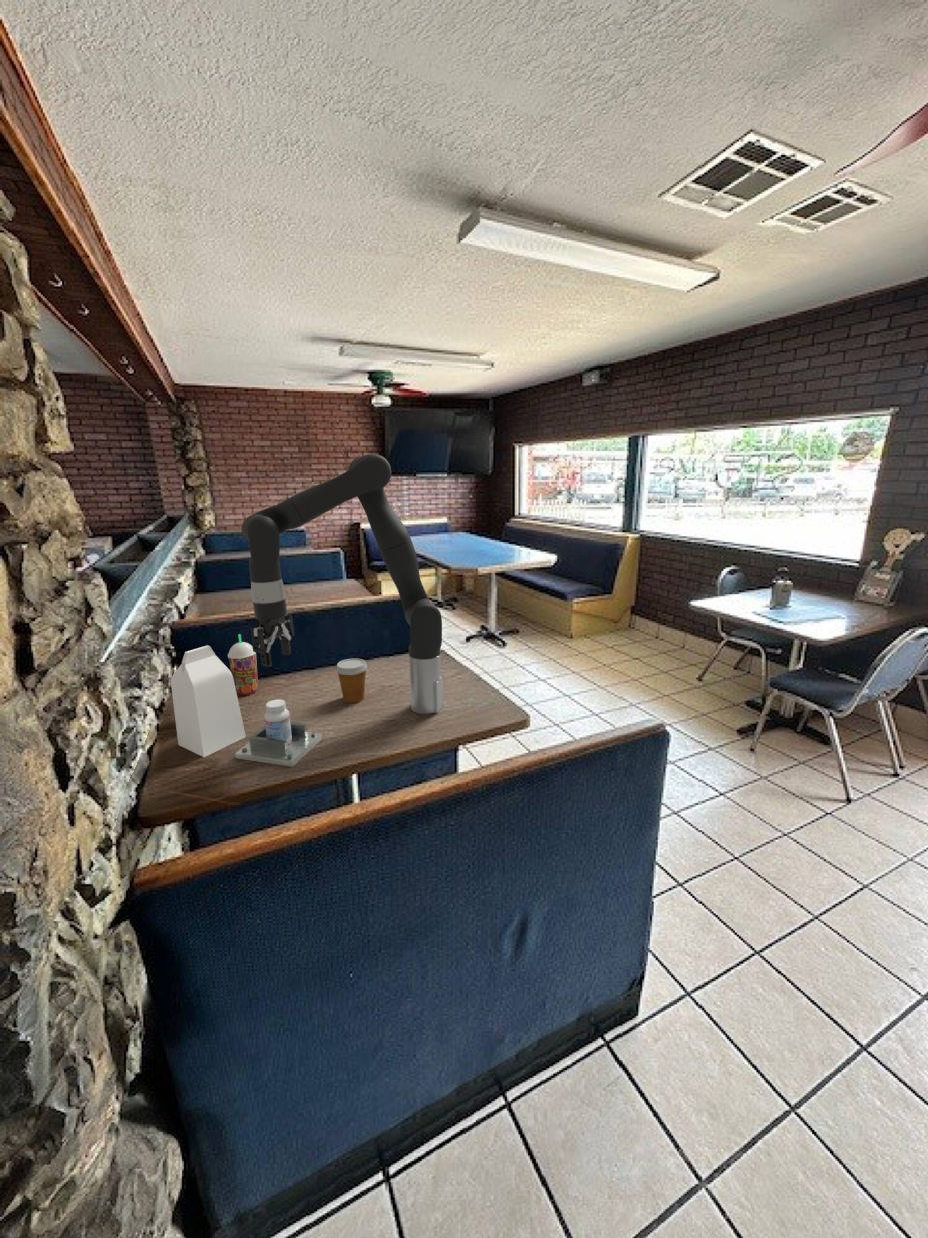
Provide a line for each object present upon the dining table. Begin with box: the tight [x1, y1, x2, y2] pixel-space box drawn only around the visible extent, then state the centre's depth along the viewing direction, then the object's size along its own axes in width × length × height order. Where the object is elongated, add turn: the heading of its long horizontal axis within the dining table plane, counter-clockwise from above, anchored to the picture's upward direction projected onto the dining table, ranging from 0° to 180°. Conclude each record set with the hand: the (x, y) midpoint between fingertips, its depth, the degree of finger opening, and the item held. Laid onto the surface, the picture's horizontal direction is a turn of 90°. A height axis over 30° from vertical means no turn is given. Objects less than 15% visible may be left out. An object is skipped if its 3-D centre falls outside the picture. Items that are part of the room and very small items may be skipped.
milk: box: [170, 645, 246, 758], centre depth 132 cm, size 12×12×26 cm
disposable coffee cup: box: [335, 658, 368, 704], centre depth 159 cm, size 10×10×12 cm
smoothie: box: [227, 633, 259, 696], centre depth 163 cm, size 8×8×20 cm
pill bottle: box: [263, 699, 292, 745], centre depth 130 cm, size 6×6×11 cm
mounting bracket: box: [235, 721, 323, 768], centre depth 131 cm, size 16×14×5 cm
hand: (277, 660), depth 129 cm, fingers open, 8 cm apart
